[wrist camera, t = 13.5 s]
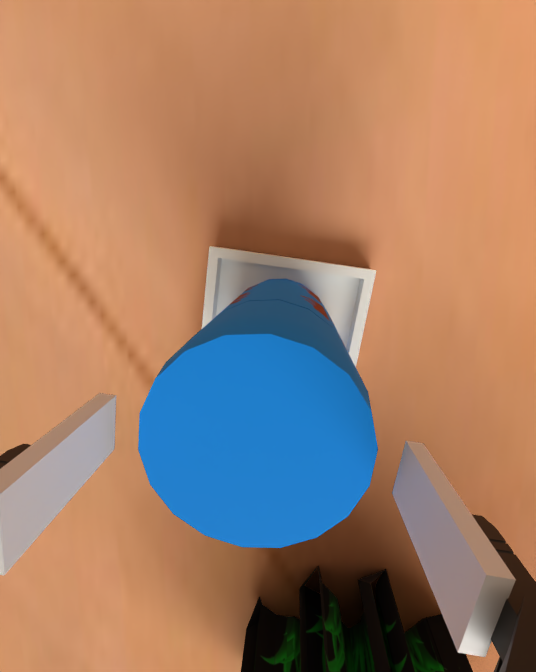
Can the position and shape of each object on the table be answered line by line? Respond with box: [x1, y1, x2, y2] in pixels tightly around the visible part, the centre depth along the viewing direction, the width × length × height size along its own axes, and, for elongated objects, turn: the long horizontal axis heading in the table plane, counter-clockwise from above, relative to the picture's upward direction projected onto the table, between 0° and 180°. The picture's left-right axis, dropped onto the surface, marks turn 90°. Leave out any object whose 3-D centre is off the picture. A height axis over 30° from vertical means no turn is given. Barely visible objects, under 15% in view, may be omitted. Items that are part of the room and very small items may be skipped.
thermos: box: [138, 279, 378, 548], centre depth 27 cm, size 11×11×25 cm
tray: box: [202, 246, 376, 367], centre depth 39 cm, size 17×15×3 cm
